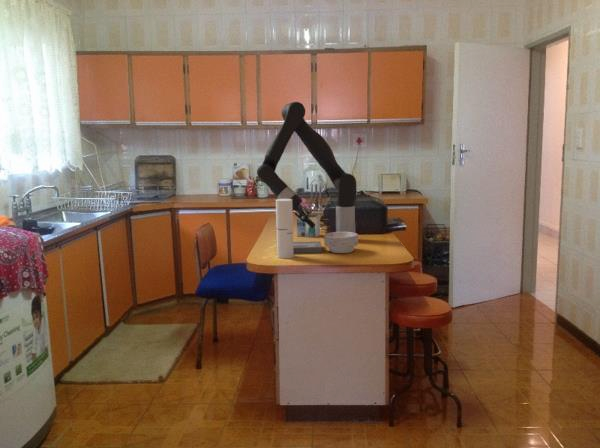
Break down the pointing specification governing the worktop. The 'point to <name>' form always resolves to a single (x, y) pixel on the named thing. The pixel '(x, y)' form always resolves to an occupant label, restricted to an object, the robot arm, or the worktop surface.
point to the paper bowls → (341, 241)
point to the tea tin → (313, 231)
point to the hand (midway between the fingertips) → (315, 225)
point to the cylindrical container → (284, 228)
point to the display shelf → (307, 247)
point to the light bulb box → (302, 227)
